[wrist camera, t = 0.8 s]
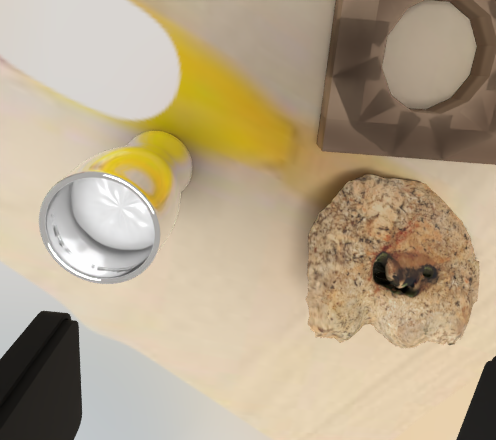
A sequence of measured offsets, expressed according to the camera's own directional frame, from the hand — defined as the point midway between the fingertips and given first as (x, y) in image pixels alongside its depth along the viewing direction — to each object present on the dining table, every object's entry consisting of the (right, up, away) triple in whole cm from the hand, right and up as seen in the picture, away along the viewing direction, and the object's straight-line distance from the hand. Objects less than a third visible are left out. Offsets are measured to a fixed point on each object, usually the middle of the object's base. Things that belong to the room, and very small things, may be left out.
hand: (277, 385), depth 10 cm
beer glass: (-9, +9, +27) cm, 30 cm away
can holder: (+13, +17, +24) cm, 32 cm away
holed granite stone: (+12, +2, +30) cm, 32 cm away
